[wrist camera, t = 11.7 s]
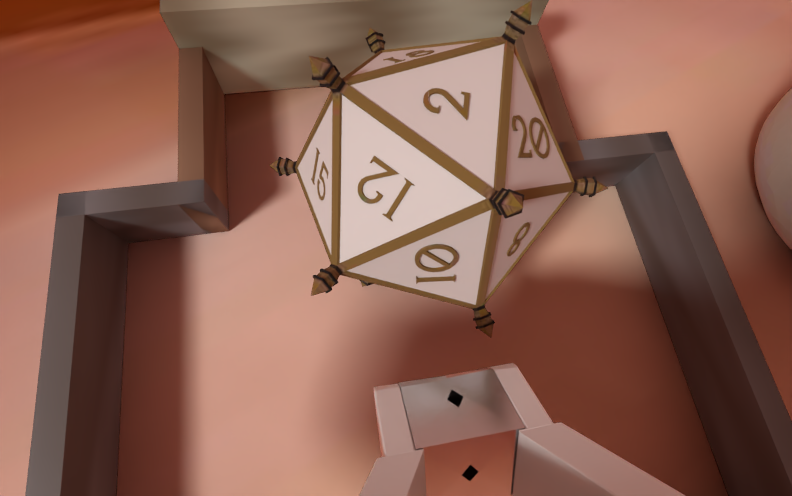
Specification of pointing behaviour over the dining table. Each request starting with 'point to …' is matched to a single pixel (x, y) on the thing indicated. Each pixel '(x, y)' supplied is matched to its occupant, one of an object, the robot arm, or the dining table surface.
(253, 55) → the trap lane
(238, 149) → the dining table surface
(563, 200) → the game die
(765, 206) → the teacup
